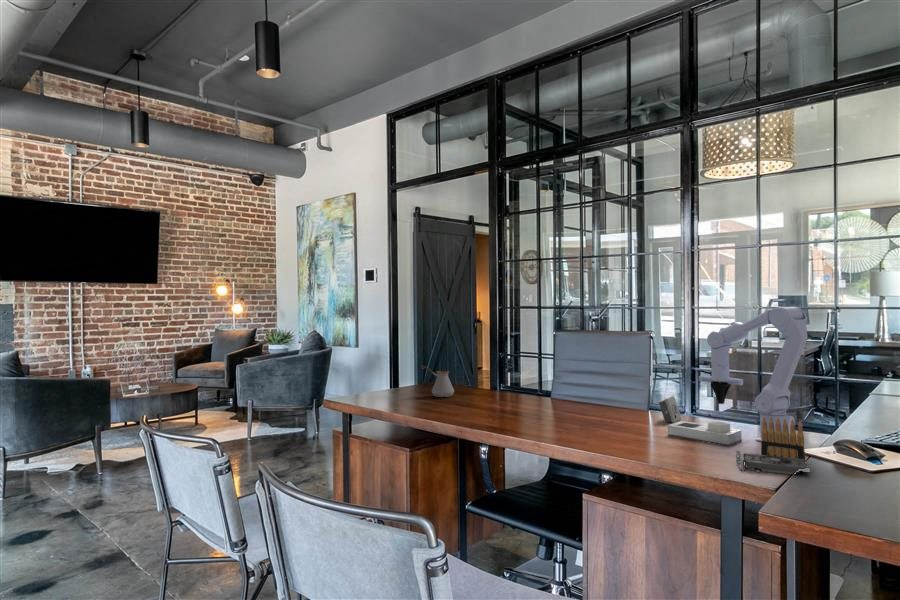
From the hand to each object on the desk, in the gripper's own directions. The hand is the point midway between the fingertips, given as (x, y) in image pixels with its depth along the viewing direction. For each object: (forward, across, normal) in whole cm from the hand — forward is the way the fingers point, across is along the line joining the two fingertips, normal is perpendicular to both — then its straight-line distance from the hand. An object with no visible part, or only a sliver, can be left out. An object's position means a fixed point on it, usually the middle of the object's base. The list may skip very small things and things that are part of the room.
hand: (721, 403), depth 192 cm
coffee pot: (+10, +131, +25) cm, 134 cm away
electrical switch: (+10, +20, -2) cm, 22 cm away
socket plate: (+9, -1, +16) cm, 19 cm away
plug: (+9, -6, +16) cm, 19 cm away
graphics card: (+10, -29, +37) cm, 48 cm away
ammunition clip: (+10, -28, +26) cm, 39 cm away
